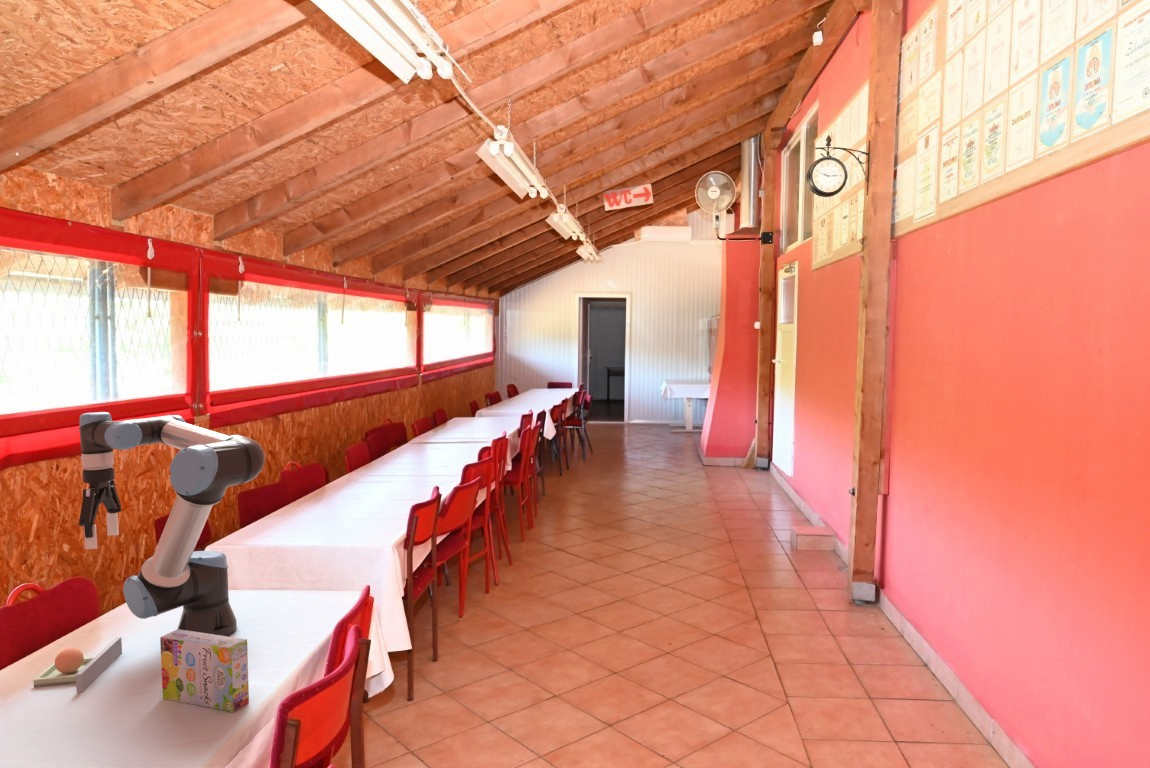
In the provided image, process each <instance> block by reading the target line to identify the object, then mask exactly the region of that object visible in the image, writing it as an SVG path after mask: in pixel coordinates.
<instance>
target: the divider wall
mask: <svg viewBox="0 0 1150 768" xmlns="http://www.w3.org/2000/svg"><path fill="white" fill-rule="evenodd" d="M122 642H123V641H122V637H121V636H115V638H113V640H112V641H111V642H109V644H108V645H106V646H105V647H104V648H103V649H102V650H101V651H99V652H98V653H97V655H95V656H93V657H94V658H93V659H92V660H91V661H90V662H89V663H88V664H87V665H86V666H85V667H84V668H82V669H81V670H80V671H79V672H78V673H77V674H76V683H75V685H76V687H75V688H76V694H82V693H84V692H85V691H86V690H88V689H89V687H90V686H91V685H92V684H93V682H95V680H97V679H98V678H99V677H100V676H101V675H102V674H103V672H105V671H106V670H107V669H108V668H109V667H110V666H111V665H113V663H114V662H115V661H116V660H117V659H118V658H119V657H120V656H122V654H123V646H122V645H123V644H122Z"/></svg>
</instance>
